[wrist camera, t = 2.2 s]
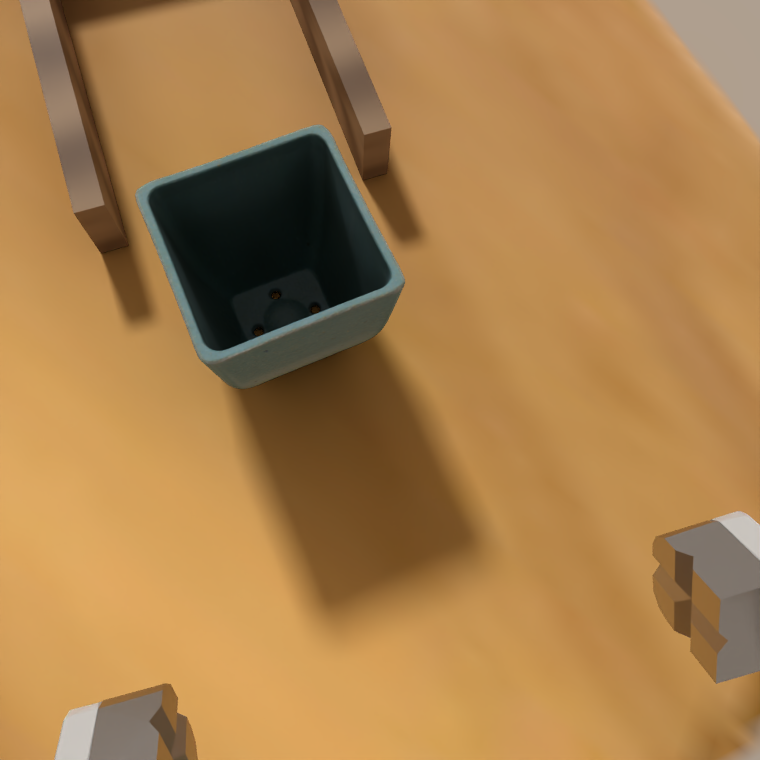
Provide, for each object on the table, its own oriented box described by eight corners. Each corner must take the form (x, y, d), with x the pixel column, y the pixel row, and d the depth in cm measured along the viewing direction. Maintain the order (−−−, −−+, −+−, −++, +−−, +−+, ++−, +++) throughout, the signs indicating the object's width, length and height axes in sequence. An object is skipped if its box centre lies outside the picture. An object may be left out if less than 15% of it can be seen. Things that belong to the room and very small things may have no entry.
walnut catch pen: (387, 173, 40) (391, 127, 37) (100, 253, 38) (73, 213, 34) (277, -91, 47) (271, -154, 43) (24, -37, 44) (-6, -98, 40)
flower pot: (178, 282, 38) (129, 185, 29) (329, 226, 39) (324, 118, 31) (236, 427, 35) (202, 367, 27) (395, 361, 37) (410, 285, 28)
